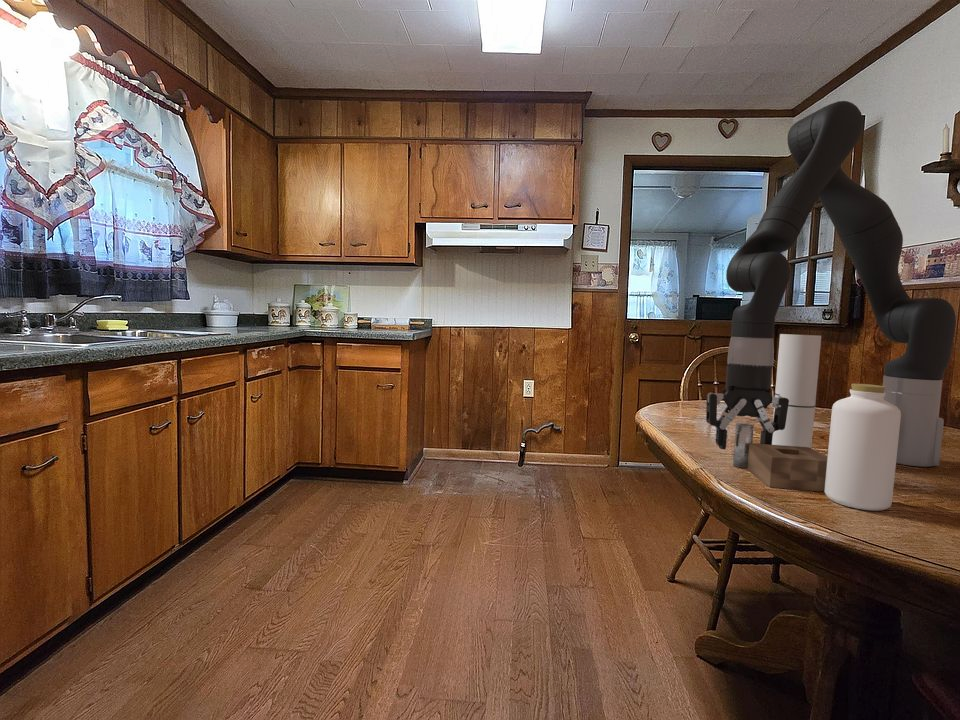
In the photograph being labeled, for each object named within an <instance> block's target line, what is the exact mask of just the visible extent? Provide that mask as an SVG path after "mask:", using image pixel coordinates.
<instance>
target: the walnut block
mask: <svg viewBox="0 0 960 720" xmlns="http://www.w3.org/2000/svg"><path fill="white" fill-rule="evenodd" d="M827 458H828V455H825V454H823V453H822V452H819V451H817V450H815V449H813V448H812V447H811V448H809V447H798V446H783V445H769V444H760V443H754V442H753V443H750V445H749V457H748V468H747V471H748V472H749V473H751V474H752V475H753V476H754V475H755V476H754V477H756V478H757V479H758V480H760V481H761V482H763V484H765V485H766V486H768V487H769V488H776V489H777V488H779V489H790V490H799V491H800V490H801V491H802V490H803V491H813V492H814V491H815V492H825V480H826V469H827Z"/></svg>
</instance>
